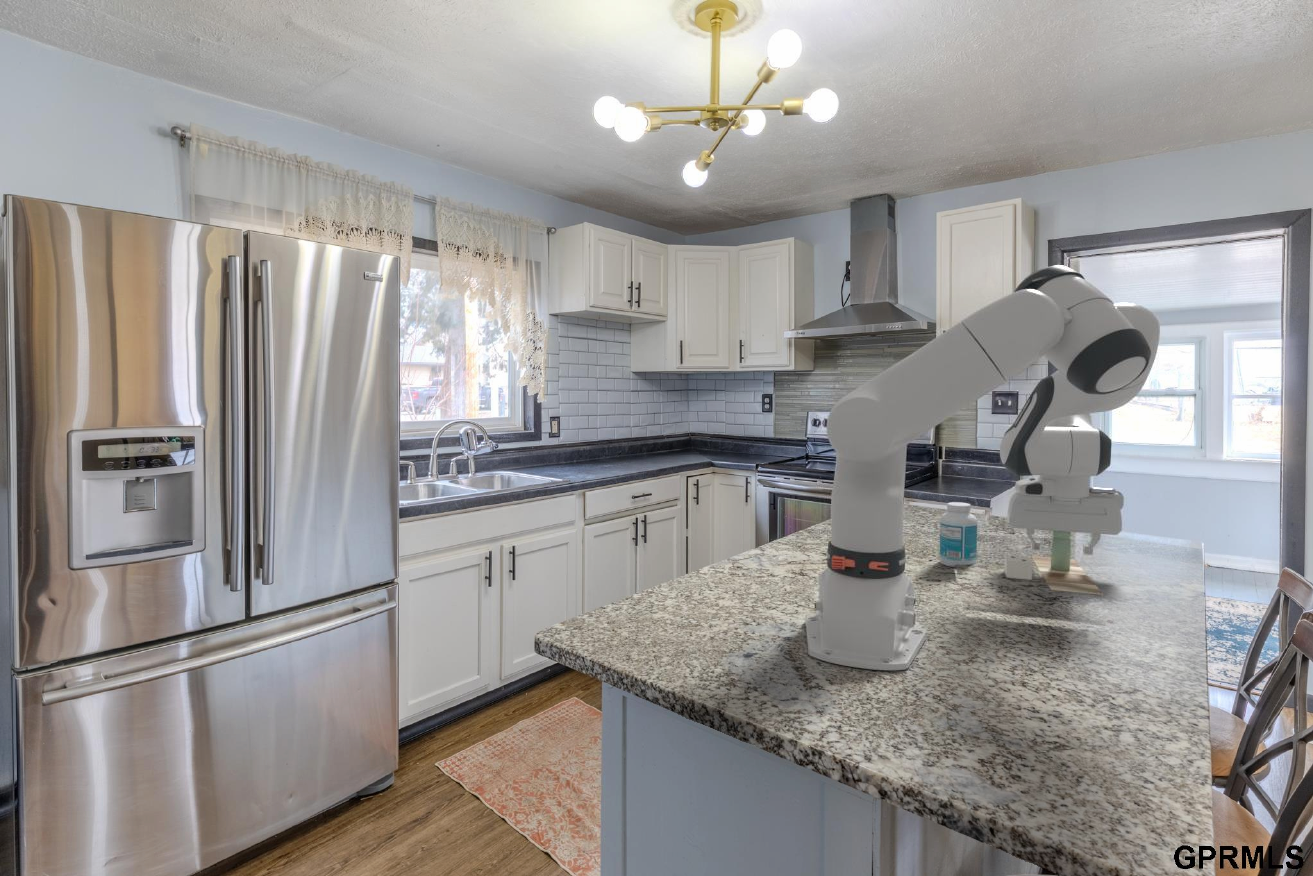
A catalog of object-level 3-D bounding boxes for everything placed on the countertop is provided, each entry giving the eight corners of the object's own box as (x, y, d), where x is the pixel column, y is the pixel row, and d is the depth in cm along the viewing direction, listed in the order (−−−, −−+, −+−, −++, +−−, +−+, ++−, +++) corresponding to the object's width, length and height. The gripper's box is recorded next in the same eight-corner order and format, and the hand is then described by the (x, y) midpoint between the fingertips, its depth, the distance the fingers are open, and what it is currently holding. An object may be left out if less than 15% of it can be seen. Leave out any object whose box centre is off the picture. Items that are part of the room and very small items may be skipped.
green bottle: (1071, 572, 135) (1073, 528, 134) (1052, 570, 136) (1054, 527, 136) (1068, 567, 138) (1070, 525, 138) (1049, 566, 140) (1051, 524, 139)
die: (1031, 585, 130) (1032, 562, 130) (1006, 582, 132) (1007, 560, 132) (1028, 578, 135) (1029, 556, 134) (1003, 576, 136) (1004, 554, 136)
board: (1105, 600, 121) (1105, 595, 121) (1049, 594, 124) (1049, 589, 124) (1075, 563, 145) (1075, 559, 145) (1028, 559, 148) (1028, 555, 148)
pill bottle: (968, 560, 148) (970, 500, 147) (981, 569, 141) (984, 507, 140) (934, 559, 149) (936, 500, 148) (945, 568, 142) (947, 506, 140)
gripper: (1119, 486, 135) (1116, 553, 136) (1007, 481, 142) (1004, 544, 144) (1128, 491, 129) (1125, 560, 130) (1011, 485, 137) (1008, 551, 138)
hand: (1061, 552), depth 137 cm, fingers open, 8 cm apart
